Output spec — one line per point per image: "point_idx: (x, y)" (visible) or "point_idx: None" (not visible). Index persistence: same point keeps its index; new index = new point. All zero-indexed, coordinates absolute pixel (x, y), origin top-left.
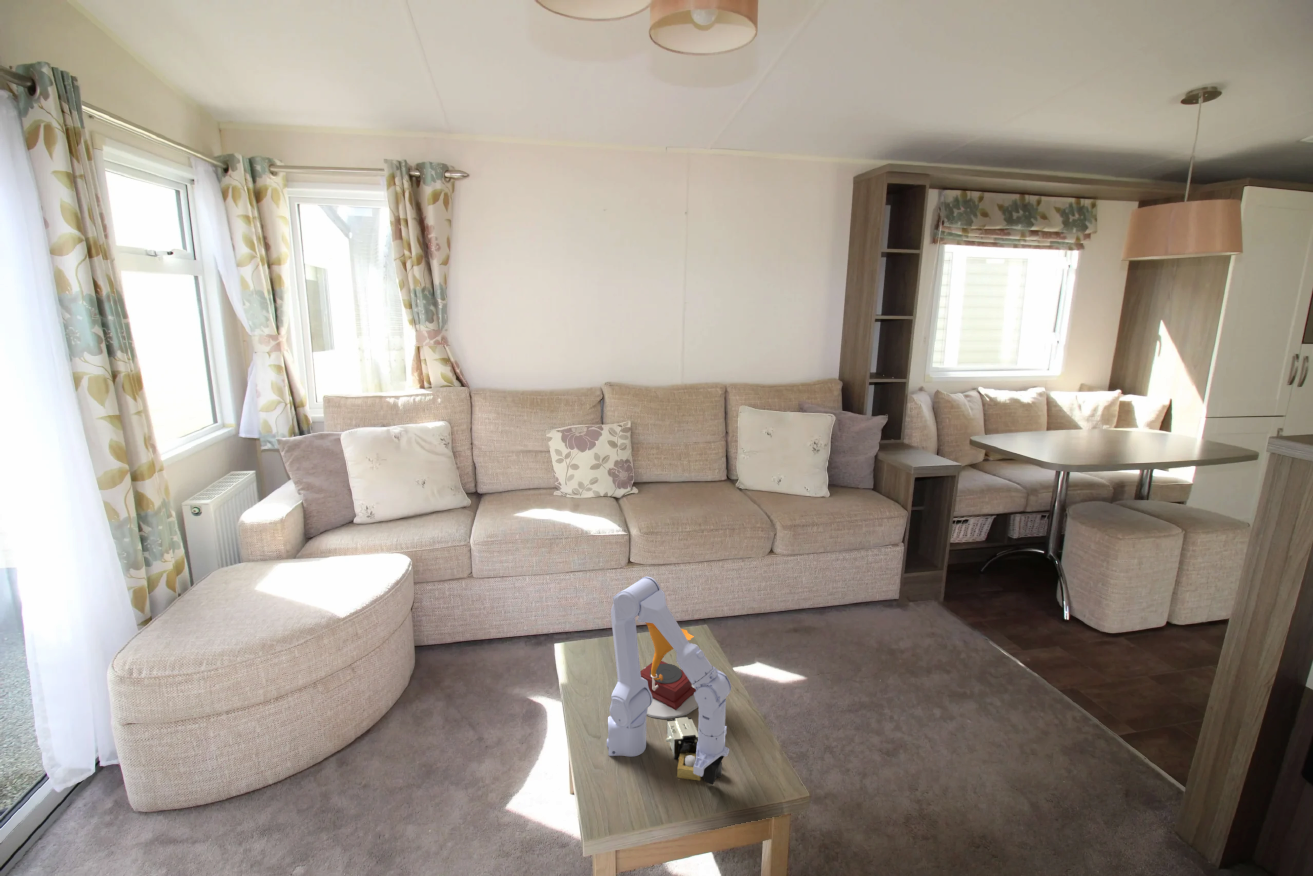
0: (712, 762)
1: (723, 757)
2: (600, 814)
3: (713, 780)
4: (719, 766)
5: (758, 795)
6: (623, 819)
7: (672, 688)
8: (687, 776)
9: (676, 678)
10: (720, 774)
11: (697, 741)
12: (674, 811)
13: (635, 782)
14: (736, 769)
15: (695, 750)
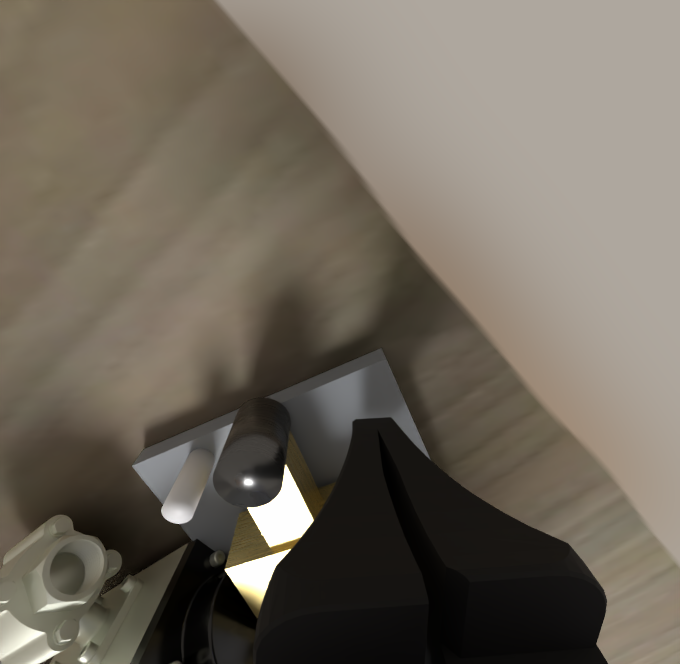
0: (559, 643)
1: (395, 577)
2: (649, 656)
3: (405, 435)
4: (271, 456)
5: (242, 122)
6: (652, 599)
7: None
8: None
9: None
10: (269, 408)
11: (162, 657)
12: (557, 480)
13: None
14: (130, 339)
15: (224, 615)
